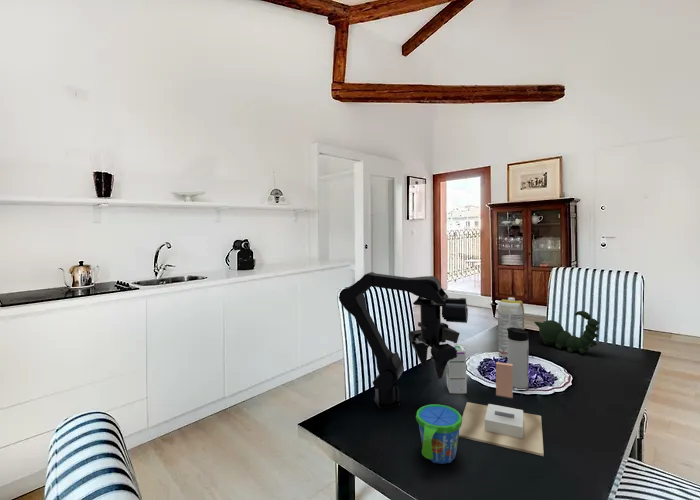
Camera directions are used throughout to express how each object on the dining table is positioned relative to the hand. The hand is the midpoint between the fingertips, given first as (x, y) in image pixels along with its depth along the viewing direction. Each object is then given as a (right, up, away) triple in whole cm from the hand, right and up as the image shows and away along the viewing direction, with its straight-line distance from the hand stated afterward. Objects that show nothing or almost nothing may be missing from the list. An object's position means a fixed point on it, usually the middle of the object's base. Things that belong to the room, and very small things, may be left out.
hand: (431, 371), depth 105 cm
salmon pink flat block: (+17, -3, -9) cm, 20 cm away
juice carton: (+42, -8, +41) cm, 59 cm away
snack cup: (-2, -14, -19) cm, 24 cm away
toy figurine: (+67, -6, +47) cm, 82 cm away
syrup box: (+11, -11, +14) cm, 21 cm away
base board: (+18, -12, -9) cm, 23 cm away
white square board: (+18, -12, -9) cm, 23 cm away
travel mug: (+32, -10, +14) cm, 36 cm away
